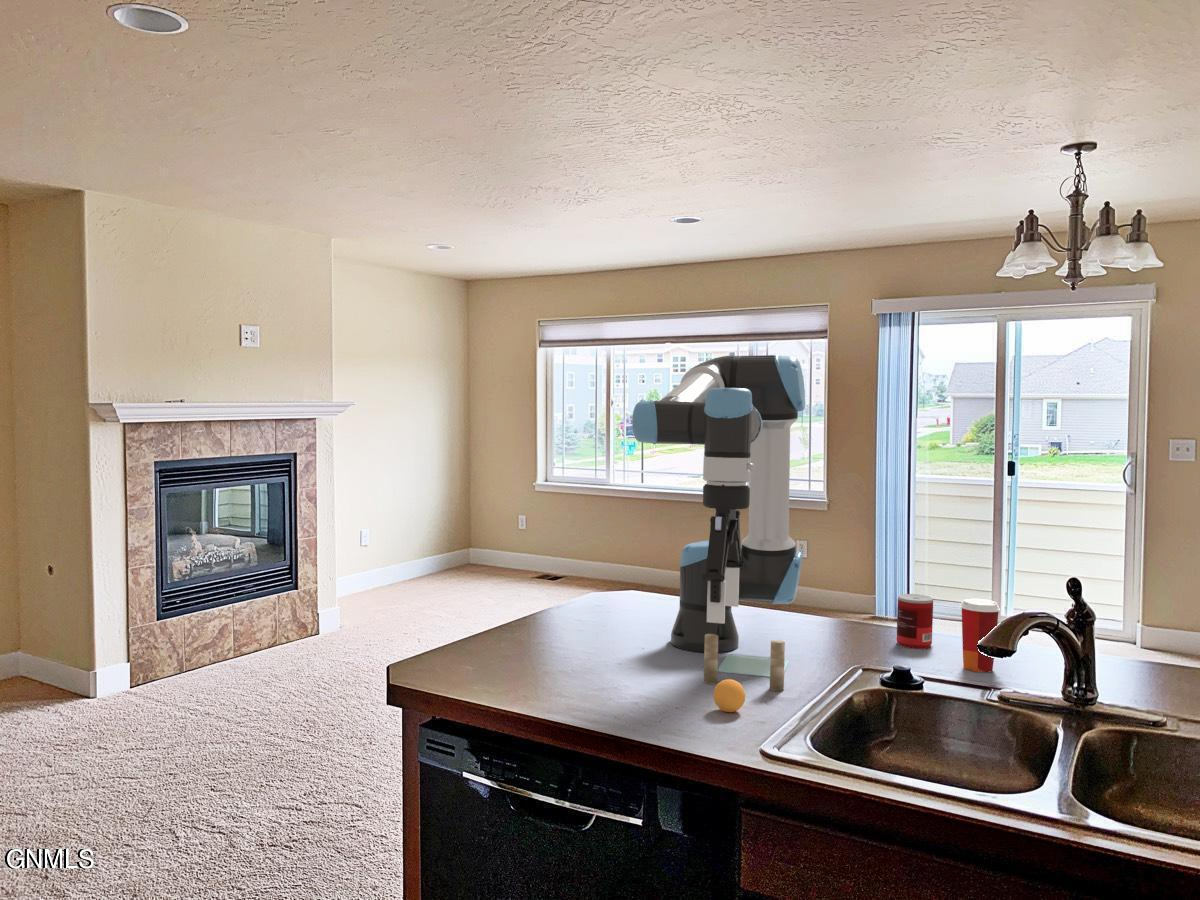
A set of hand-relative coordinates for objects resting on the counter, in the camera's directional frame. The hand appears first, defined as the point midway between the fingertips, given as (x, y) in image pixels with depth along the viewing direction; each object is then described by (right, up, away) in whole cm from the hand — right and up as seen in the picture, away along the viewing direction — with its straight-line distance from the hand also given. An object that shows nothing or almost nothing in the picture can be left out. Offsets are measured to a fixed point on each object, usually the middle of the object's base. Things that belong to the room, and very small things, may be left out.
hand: (723, 614), depth 144 cm
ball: (+2, -16, +9) cm, 19 cm away
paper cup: (+58, -19, +40) cm, 73 cm away
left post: (+1, -18, +27) cm, 32 cm away
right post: (+13, -18, +23) cm, 32 cm away
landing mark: (+12, -18, +38) cm, 44 cm away
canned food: (+52, -18, +59) cm, 80 cm away
